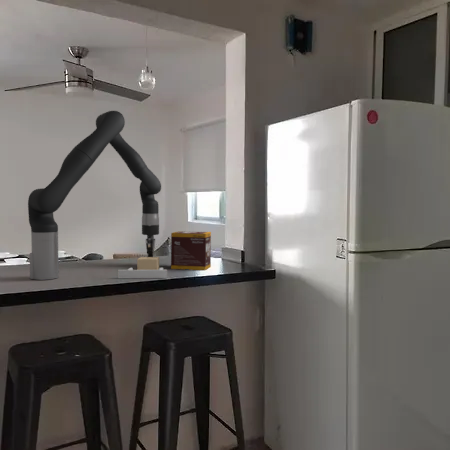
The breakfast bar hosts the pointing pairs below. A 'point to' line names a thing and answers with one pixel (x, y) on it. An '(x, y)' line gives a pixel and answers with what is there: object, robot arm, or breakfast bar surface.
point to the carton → (148, 263)
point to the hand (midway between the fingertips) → (150, 262)
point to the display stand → (142, 273)
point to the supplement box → (191, 250)
